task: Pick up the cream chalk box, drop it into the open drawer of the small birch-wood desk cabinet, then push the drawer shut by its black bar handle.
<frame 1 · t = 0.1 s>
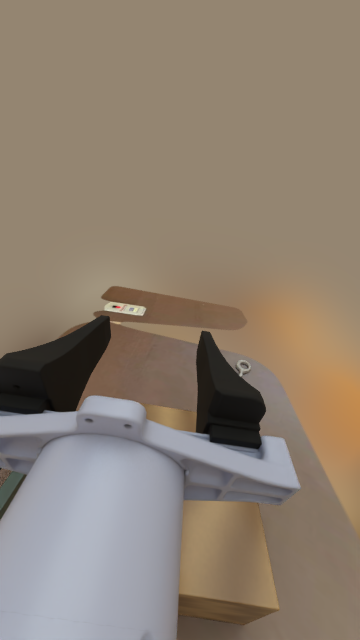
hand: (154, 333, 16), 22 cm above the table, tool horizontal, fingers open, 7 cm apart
cabinet: (170, 507, 24), on the table
drawer: (74, 475, 22), point 4 cm above the table, slide at 7.0 cm
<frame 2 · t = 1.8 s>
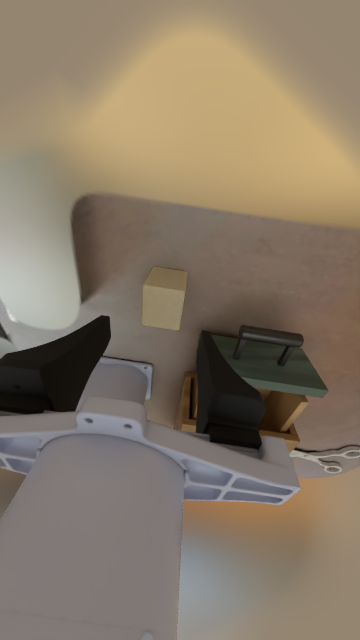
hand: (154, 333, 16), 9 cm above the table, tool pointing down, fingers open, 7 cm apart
cabinet: (220, 407, 35), on the table
scissors: (307, 451, 40), on the table
drawer: (244, 385, 25), point 4 cm above the table, slide at 7.0 cm
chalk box: (168, 287, 23), on the table
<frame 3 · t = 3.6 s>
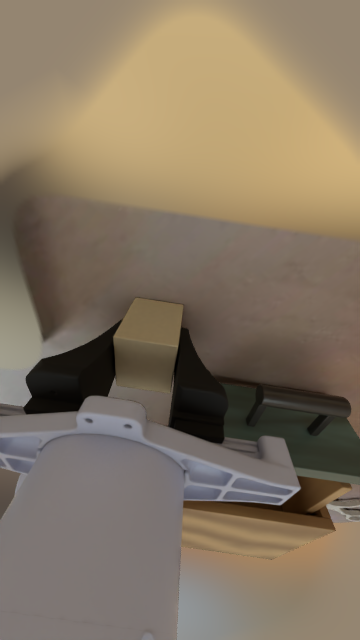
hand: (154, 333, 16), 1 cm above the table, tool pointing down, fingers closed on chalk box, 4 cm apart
cabinet: (225, 455, 28), on the table
scissors: (327, 499, 34), on the table
drawer: (259, 449, 19), point 4 cm above the table, slide at 7.0 cm
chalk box: (157, 323, 17), on the table, touching gripper
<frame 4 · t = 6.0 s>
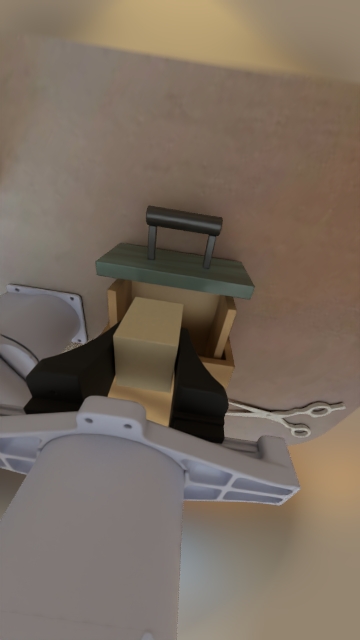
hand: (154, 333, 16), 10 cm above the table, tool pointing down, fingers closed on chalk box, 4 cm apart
cabinet: (167, 354, 31), on the table
scissors: (271, 411, 37), on the table
drawer: (173, 305, 21), point 4 cm above the table, slide at 7.0 cm
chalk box: (157, 323, 17), point 9 cm above the table, touching gripper
when the fingers open (4 cm above the table, at t = 8.8 s): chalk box stays where it is, resting on drawer.
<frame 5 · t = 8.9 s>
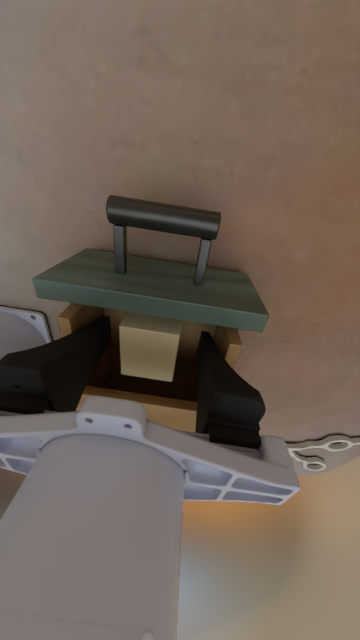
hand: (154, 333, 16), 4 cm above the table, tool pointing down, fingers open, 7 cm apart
cabinet: (155, 380, 25), on the table
scissors: (280, 443, 31), on the table
drawer: (155, 330, 16), point 4 cm above the table, slide at 7.0 cm, touching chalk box
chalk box: (159, 316, 18), point 2 cm above the table, touching drawer
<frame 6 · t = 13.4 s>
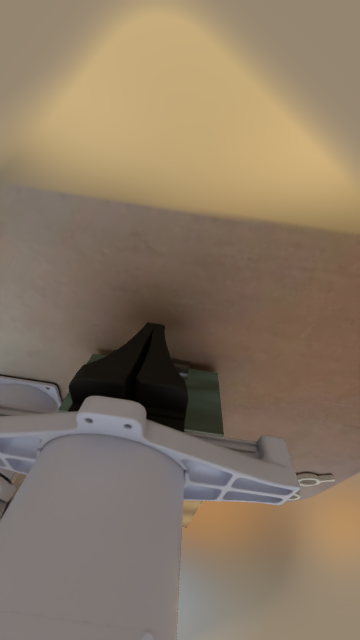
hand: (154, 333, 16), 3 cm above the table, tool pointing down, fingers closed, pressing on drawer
cabinet: (149, 430, 30), on the table
scissors: (259, 477, 36), on the table
drawer: (147, 417, 21), point 4 cm above the table, slide at 6.5 cm, touching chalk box, gripper
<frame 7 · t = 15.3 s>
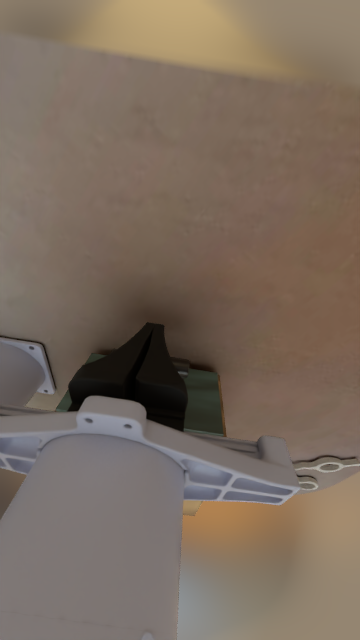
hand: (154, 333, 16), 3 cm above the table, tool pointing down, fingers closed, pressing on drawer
cabinet: (151, 405, 26), on the table
scissors: (274, 463, 32), on the table
drawer: (145, 418, 21), point 4 cm above the table, slide at 0.0 cm, touching cabinet, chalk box, gripper
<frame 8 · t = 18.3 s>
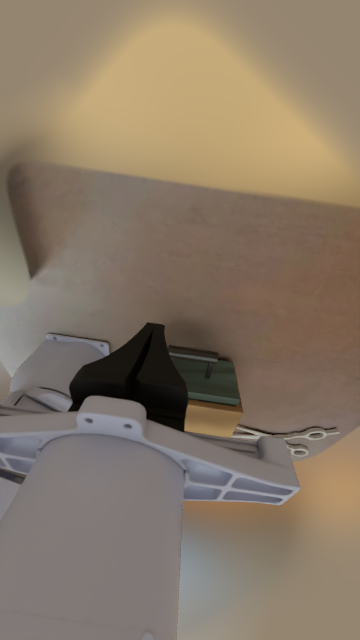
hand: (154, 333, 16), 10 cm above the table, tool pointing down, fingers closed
cabinet: (181, 387, 35), on the table
scissors: (273, 434, 41), on the table
drawer: (183, 393, 30), point 4 cm above the table, slide at 0.0 cm, touching cabinet, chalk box
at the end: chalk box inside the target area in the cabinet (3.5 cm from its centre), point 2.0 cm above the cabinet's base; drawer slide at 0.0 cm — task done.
